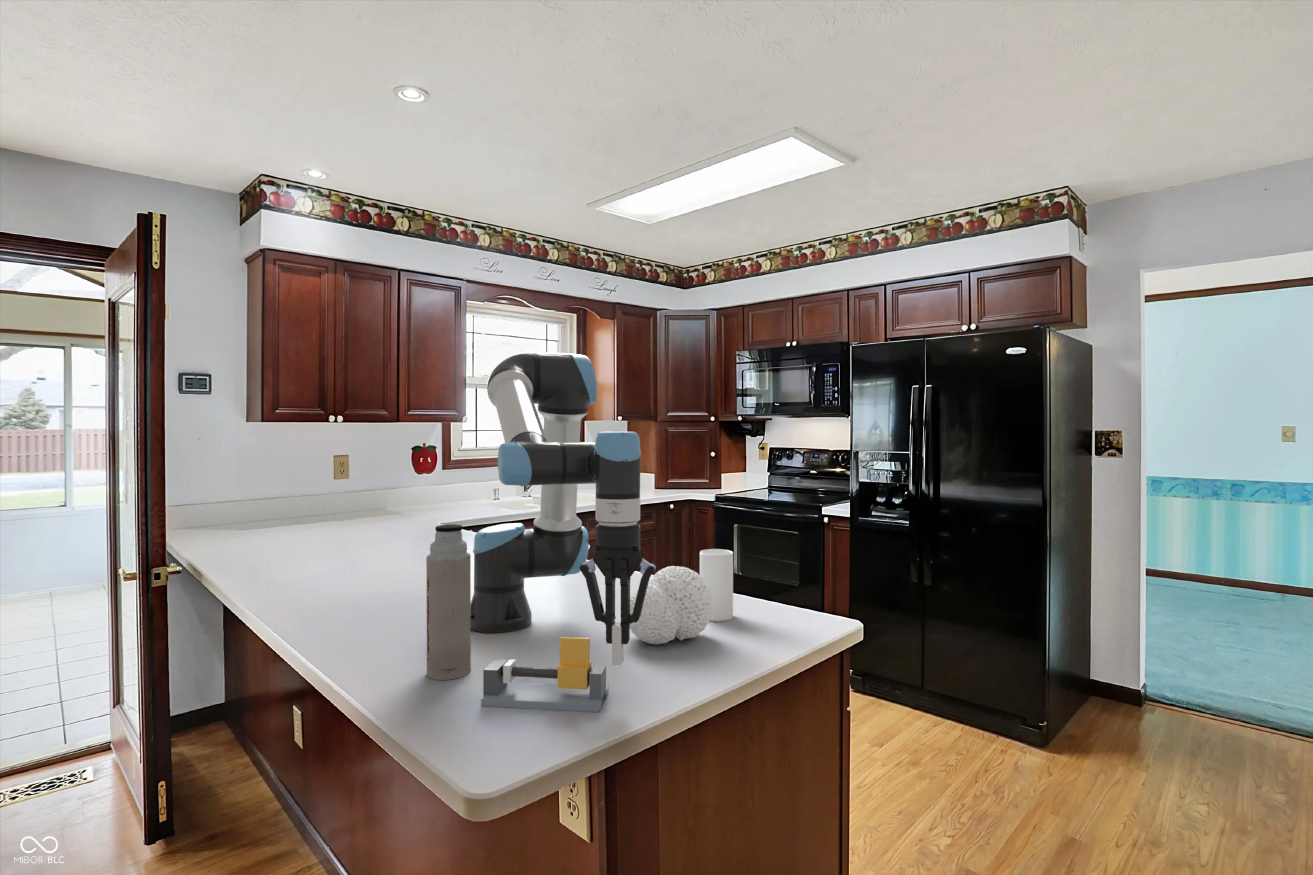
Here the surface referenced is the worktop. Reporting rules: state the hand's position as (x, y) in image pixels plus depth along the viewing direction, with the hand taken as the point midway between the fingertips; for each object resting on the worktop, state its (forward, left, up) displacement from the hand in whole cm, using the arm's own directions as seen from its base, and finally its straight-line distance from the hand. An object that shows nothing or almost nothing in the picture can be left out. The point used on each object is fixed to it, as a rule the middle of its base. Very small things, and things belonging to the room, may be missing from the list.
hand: (617, 662), depth 112 cm
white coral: (+6, +35, -7) cm, 36 cm away
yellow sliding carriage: (-7, 0, -4) cm, 8 cm away
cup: (+15, +55, -7) cm, 57 cm away
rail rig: (-12, 0, -7) cm, 14 cm away
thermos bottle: (-34, +10, -7) cm, 37 cm away
